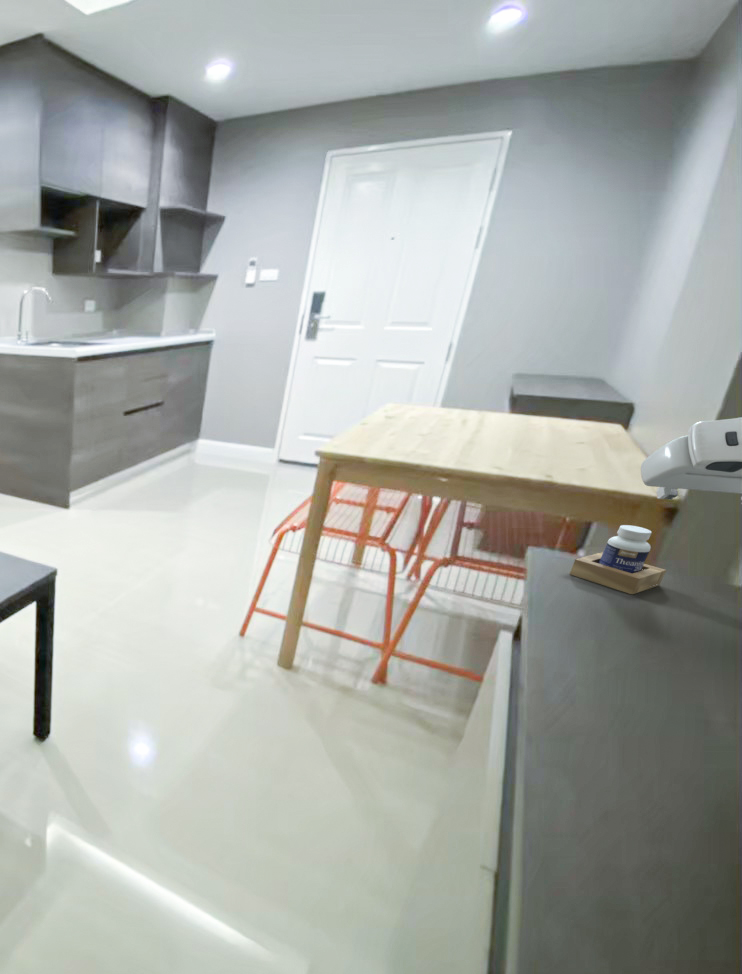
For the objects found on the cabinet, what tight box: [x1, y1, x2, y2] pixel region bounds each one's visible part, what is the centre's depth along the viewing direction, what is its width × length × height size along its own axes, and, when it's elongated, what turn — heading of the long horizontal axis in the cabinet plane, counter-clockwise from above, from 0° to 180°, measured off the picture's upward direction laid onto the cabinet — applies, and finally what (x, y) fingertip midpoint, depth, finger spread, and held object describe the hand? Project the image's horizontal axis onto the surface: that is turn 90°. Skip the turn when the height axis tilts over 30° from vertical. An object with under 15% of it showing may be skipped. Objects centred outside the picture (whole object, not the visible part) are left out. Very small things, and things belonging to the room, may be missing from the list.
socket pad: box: [569, 551, 667, 595], centre depth 108 cm, size 9×9×3 cm
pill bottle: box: [599, 524, 652, 573], centre depth 106 cm, size 5×5×10 cm
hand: (704, 498), depth 89 cm, fingers open, 8 cm apart
